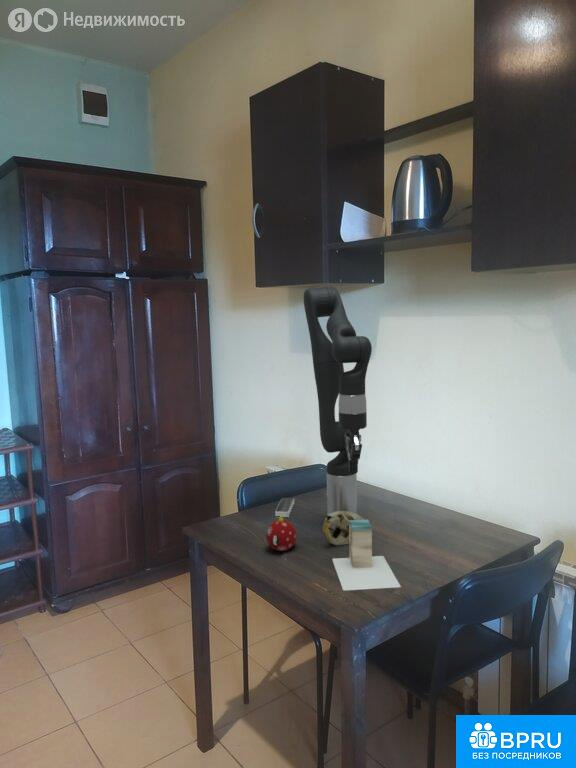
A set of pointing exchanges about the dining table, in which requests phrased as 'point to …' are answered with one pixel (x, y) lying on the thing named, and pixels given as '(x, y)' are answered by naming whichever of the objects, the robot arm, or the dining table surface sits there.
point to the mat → (365, 575)
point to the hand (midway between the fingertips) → (353, 472)
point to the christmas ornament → (281, 535)
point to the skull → (339, 526)
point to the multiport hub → (284, 507)
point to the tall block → (360, 543)
